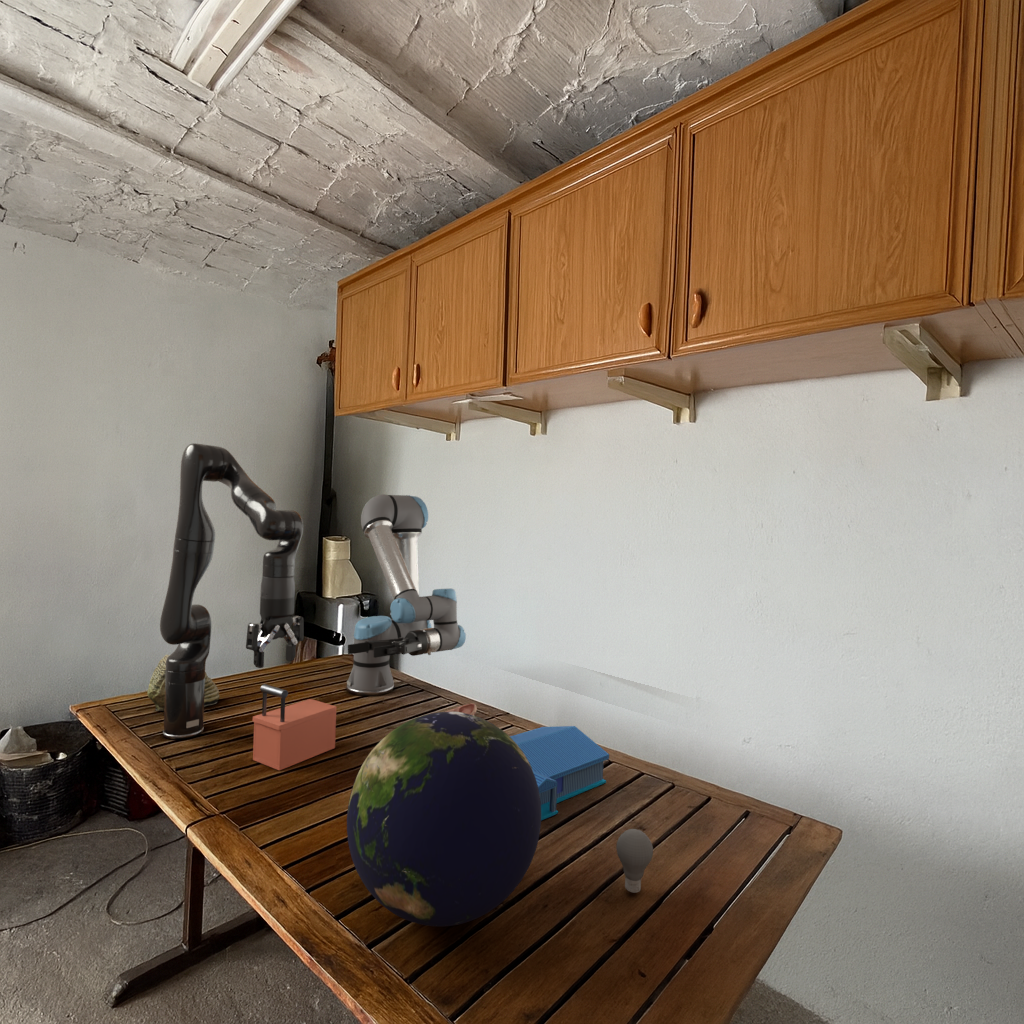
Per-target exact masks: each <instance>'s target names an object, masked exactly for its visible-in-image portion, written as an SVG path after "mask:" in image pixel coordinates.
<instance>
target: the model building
mask: <svg viewBox="0 0 1024 1024" xmlns="http://www.w3.org/2000/svg"><path fill="white" fill-rule="evenodd" d="M509 737H511V739H512V740H513V741H514V742H515V743H516V744H517V745H518V746H519V748H520V749H521V750H522V751H523V753H524V755H525V756H526V758H527V760H528V761H529V763H530V765H531V767H532V770H533V773H534V775H535V778H536V782H537V785H538V789H539V794H540V801H541V822H542V821H543V820H546V819H549V818H551V817H553V816H555V815H558V814H559V810H557V804H559V803H561V802H563V801H566V800H568V799H570V798H573V797H575V796H577V795H580V794H583V793H585V792H587V791H590V790H591V789H594V788H597V787H599V786H601V785H604V784H606V783H607V780H606V779H604V761H607V760H609V759H610V754H609V753H608V752H607V751H606V750H605V749H603V747H601V746H600V745H598V744H597V743H596V742H595V741H594V740H592V738H590V736H588V735H587V734H586V733H584V732H583V731H582V730H581V729H580V728H578V727H577V726H576V725H559V726H558V725H557V726H541V727H538V728H533V729H530V730H526V731H524V732H520V733H517V734H514V735H509Z"/></svg>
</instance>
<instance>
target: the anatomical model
mask: <svg viewBox="0 0 1024 1024" xmlns="http://www.w3.org/2000/svg"><path fill="white" fill-rule="evenodd" d="M477 709H478V708H477V705H476V703H473V702H472V703H466V704H463V705H460V706H456V707H454V708H452V709H448V710H445V711H444V712H461V713H466V714H470V715H474V716H475V714H476V713H477Z"/></svg>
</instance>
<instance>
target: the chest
mask: <svg viewBox="0 0 1024 1024" xmlns="http://www.w3.org/2000/svg"><path fill="white" fill-rule="evenodd" d="M336 727H337V710H336V711H335V712H332V713H329V714H326V715H323V716H320V717H317V718H314V719H311V720H308V721H306V722H303V723H300V724H297V725H294V726H291V727H288V728H285V729H282V730H276V729H273V728H270V727H268V726H265V725H262V724H259V723H256V722H253V743H252V744H253V748H252V761H255V762H257V763H259V764H262V765H264V766H266V767H270V768H271V769H273V770H277V771H282V770H284V769H287V768H289V767H291V766H294V765H297V764H300V763H301V762H304V761H306V760H309V759H311V758H313V757H316V756H318V755H319V756H320V755H321V754H325V752H329V751H331V750H333V749H335V748H336V732H337V729H336Z"/></svg>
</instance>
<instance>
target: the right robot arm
mask: <svg viewBox="0 0 1024 1024" xmlns="http://www.w3.org/2000/svg"><path fill="white" fill-rule="evenodd" d="M428 521H429V510H428V507H427V505H426V503H425V501H424V500H423V499H422V498H421V497H418V496H416V495H415V496H414V495H408V494H406V495H405V494H377V495H374V496H373V497H371V498H370V499H368V500H367V502H366V503H365V505H364V506H363V508H362V510H361V515H360V526H361V529H362V532H363V534H364V536H365V537H366V538H367V539H369V540H370V544H371V546H372V548H373V551H374V553H375V556H376V558H377V561H378V564H379V566H380V568H381V570H382V574H383V576H384V579H385V582H386V583H387V585H388V586H387V587H388V588H389V591H390V593H391V596H392V599H393V601H391V604H390V609H389V610H390V613H389V616H386V615H377V616H376V615H373V616H367V617H364V618H362V619H359V620H357V622H356V623H355V625H354V632H353V643H350V644H347V655H353V662H352V663H353V665H352V668H351V672H350V674H349V677H348V680H346V691H347V693H350V694H352V695H356V696H367V697H369V696H371V697H373V696H381V695H382V696H383V695H386V694H389V693H391V692H393V691H394V689H395V682H394V678H393V677H394V676H393V674H392V670H391V667H390V658H391V656H394V655H400V654H401V655H403V656H404V655H406V654H408V655H410V656H412V657H415V656H421V655H426V654H427V655H428V656H431V655H432V653H440V652H445V651H452V650H455V649H460V648H462V647H463V646H464V645H465V642H466V640H467V636H466V635H467V634H466V632H465V629H464V627H463V626H462V625H461V624H458V623H459V622H458V617H457V616H458V613H457V611H458V607H457V604H458V601H457V593H456V590H455V589H454V588H436V589H433V590H432V593H431V595H425V596H420V579H419V578H420V577H419V574H420V573H419V544H418V539H419V537H420V536H421V535H422V534H423V529H424V528H426V526H427V525H428ZM431 621H432V622H433V627H432V624H431Z"/></svg>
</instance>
